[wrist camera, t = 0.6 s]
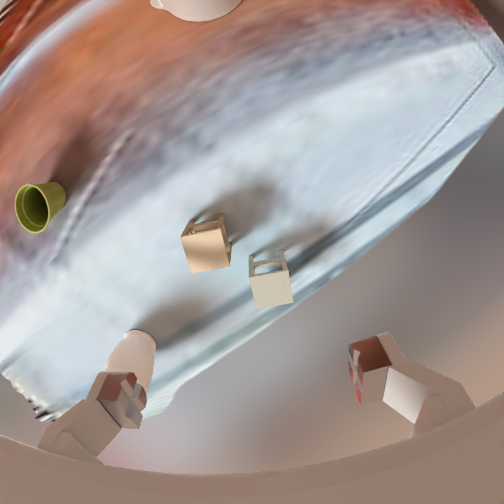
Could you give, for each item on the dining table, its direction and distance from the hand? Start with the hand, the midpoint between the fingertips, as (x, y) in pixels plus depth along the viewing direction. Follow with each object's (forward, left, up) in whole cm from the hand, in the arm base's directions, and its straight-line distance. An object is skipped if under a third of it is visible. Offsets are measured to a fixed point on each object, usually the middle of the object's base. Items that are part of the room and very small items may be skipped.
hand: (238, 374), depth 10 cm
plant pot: (-5, -38, -43) cm, 58 cm away
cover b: (+19, +1, -43) cm, 47 cm away
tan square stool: (+10, -8, -43) cm, 45 cm away
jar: (+33, -32, -43) cm, 63 cm away
